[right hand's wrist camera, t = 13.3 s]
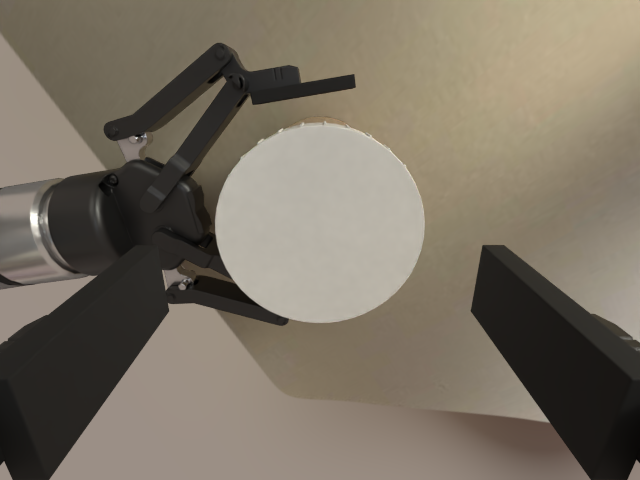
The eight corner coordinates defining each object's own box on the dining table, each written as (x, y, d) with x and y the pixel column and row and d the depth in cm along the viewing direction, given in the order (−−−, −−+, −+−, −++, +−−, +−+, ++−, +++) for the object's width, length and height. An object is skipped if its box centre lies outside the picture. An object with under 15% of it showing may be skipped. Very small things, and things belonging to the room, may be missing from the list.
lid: (391, 313, 22) (399, 335, 20) (219, 290, 21) (208, 310, 19) (437, 138, 18) (452, 143, 16) (230, 105, 17) (218, 106, 15)
